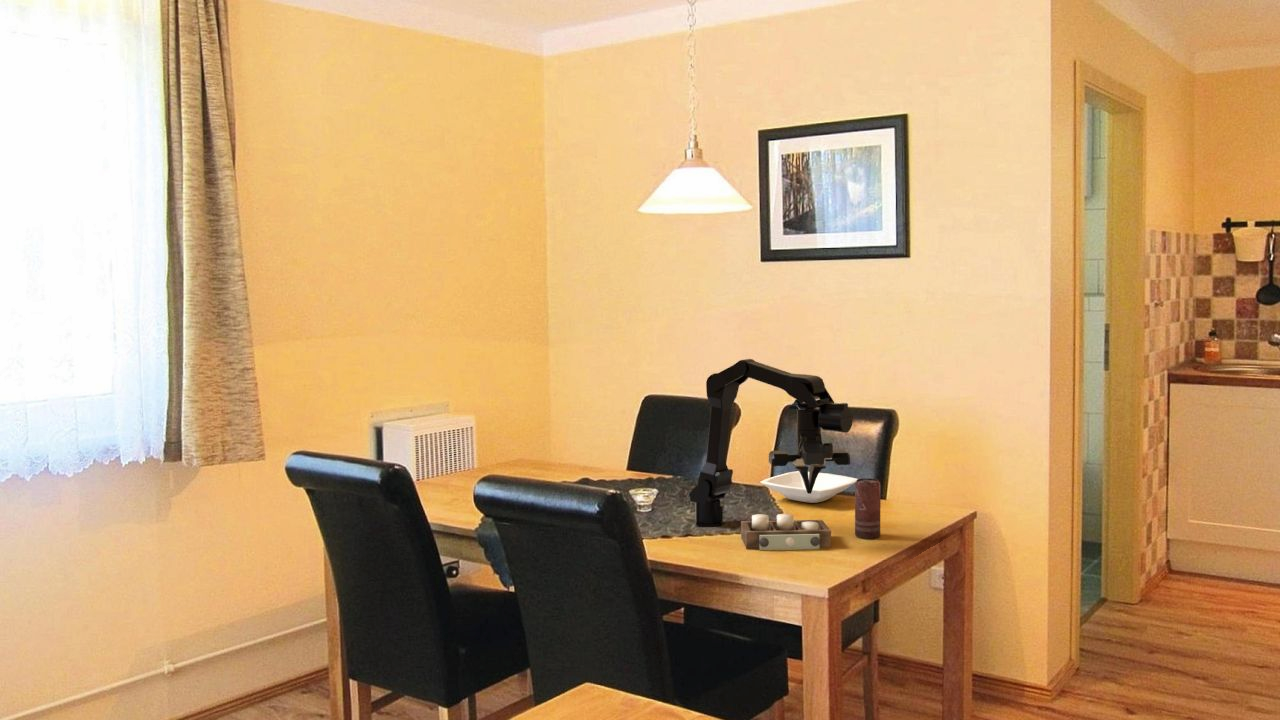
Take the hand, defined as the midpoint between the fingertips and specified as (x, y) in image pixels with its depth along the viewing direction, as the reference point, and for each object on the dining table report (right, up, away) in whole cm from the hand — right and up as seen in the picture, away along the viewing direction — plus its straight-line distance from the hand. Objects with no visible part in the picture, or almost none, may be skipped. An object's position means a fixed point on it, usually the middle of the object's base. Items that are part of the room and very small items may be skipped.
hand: (809, 493), depth 264 cm
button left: (-12, -9, +1) cm, 14 cm away
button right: (0, -10, +1) cm, 10 cm away
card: (-6, -13, -6) cm, 15 cm away
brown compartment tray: (-6, -12, +1) cm, 13 cm away
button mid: (-6, -8, +1) cm, 10 cm away
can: (+15, -11, +5) cm, 20 cm away
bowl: (+7, -8, +47) cm, 48 cm away
